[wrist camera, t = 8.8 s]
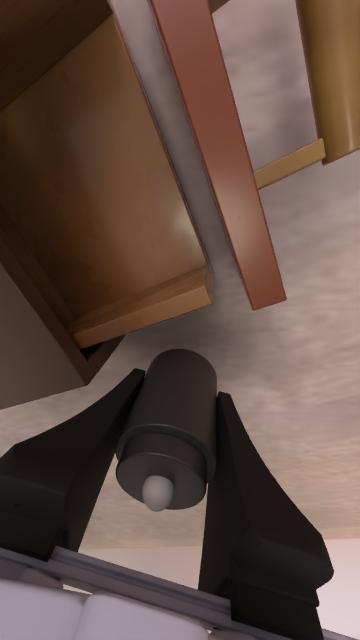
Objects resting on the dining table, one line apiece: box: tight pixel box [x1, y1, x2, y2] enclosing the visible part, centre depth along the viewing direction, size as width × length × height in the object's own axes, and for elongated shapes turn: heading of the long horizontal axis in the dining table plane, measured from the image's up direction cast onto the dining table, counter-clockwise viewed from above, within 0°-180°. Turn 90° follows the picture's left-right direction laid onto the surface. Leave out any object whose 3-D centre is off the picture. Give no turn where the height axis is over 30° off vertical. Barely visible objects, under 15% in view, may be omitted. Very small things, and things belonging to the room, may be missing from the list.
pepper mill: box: [115, 349, 217, 511], centre depth 11 cm, size 4×4×7 cm
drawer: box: [0, 0, 360, 350], centre depth 9 cm, size 16×13×5 cm
